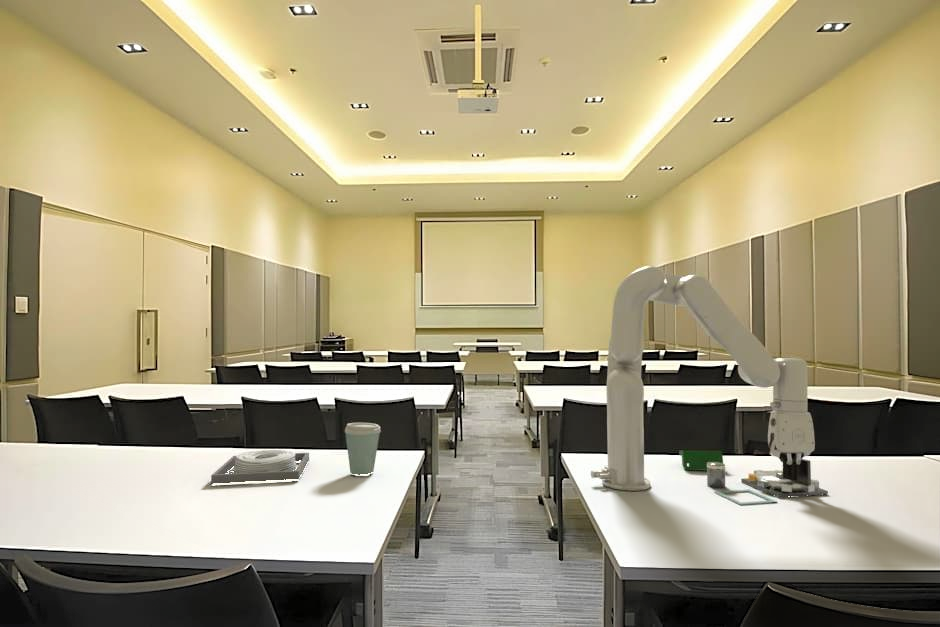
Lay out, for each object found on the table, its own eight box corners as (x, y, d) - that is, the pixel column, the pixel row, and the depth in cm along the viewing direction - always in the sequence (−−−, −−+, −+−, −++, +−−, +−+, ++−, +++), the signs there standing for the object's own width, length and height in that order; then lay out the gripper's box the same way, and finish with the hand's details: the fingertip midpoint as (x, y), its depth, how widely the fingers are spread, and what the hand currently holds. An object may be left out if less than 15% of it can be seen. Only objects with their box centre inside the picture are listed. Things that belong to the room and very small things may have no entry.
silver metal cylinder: (713, 489, 141) (713, 466, 142) (703, 484, 146) (703, 462, 146) (729, 488, 142) (728, 465, 142) (718, 483, 147) (718, 461, 147)
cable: (221, 476, 157) (221, 455, 157) (271, 463, 172) (272, 444, 172) (258, 485, 148) (258, 463, 148) (308, 471, 162) (308, 451, 162)
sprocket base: (779, 498, 134) (778, 493, 134) (741, 482, 147) (741, 478, 147) (827, 494, 136) (827, 490, 136) (786, 479, 150) (786, 475, 150)
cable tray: (211, 486, 146) (211, 475, 146) (233, 465, 169) (233, 455, 169) (298, 481, 150) (298, 471, 150) (309, 461, 173) (309, 452, 173)
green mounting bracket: (712, 482, 163) (721, 454, 165) (718, 482, 157) (728, 453, 159) (673, 465, 166) (683, 437, 168) (677, 464, 160) (687, 436, 162)
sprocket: (788, 495, 131) (787, 464, 132) (735, 478, 146) (734, 450, 147) (833, 488, 137) (832, 458, 137) (777, 472, 152) (777, 445, 152)
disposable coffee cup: (363, 467, 165) (363, 418, 165) (388, 473, 159) (388, 422, 159) (336, 475, 156) (336, 424, 157) (362, 481, 150) (362, 427, 150)
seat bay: (740, 505, 128) (740, 504, 128) (714, 492, 138) (714, 491, 138) (777, 502, 130) (777, 501, 130) (749, 490, 140) (749, 489, 140)
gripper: (774, 409, 132) (774, 484, 131) (827, 408, 134) (828, 482, 133) (753, 404, 139) (753, 475, 138) (804, 404, 141) (804, 474, 141)
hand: (790, 478), depth 136 cm, fingers closed
